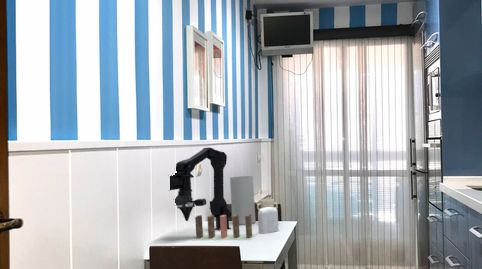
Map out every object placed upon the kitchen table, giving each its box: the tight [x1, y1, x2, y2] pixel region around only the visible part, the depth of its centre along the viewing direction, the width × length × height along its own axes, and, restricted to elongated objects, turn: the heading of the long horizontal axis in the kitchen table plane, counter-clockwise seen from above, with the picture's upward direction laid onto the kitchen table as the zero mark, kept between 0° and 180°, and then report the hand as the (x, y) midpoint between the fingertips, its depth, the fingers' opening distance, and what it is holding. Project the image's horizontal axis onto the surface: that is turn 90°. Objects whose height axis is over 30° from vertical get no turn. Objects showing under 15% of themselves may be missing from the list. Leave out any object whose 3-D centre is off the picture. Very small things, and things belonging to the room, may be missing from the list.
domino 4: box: [245, 214, 253, 238], centre depth 232 cm, size 2×5×10 cm, turn 166°
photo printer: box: [257, 206, 279, 235], centre depth 243 cm, size 10×4×12 cm, turn 123°
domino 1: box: [194, 214, 204, 239], centre depth 238 cm, size 2×5×10 cm, turn 166°
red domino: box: [220, 215, 228, 238], centre depth 235 cm, size 2×5×10 cm, turn 166°
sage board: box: [191, 233, 257, 241], centre depth 235 cm, size 28×13×1 cm, turn 76°
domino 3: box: [231, 215, 241, 238], centre depth 234 cm, size 2×5×10 cm, turn 165°
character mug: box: [256, 198, 279, 211], centre depth 267 cm, size 11×7×13 cm, turn 95°
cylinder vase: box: [229, 175, 256, 226], centre depth 275 cm, size 12×12×25 cm
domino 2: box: [207, 214, 216, 238], centre depth 237 cm, size 2×5×10 cm, turn 166°
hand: (187, 220), depth 240 cm, fingers closed
